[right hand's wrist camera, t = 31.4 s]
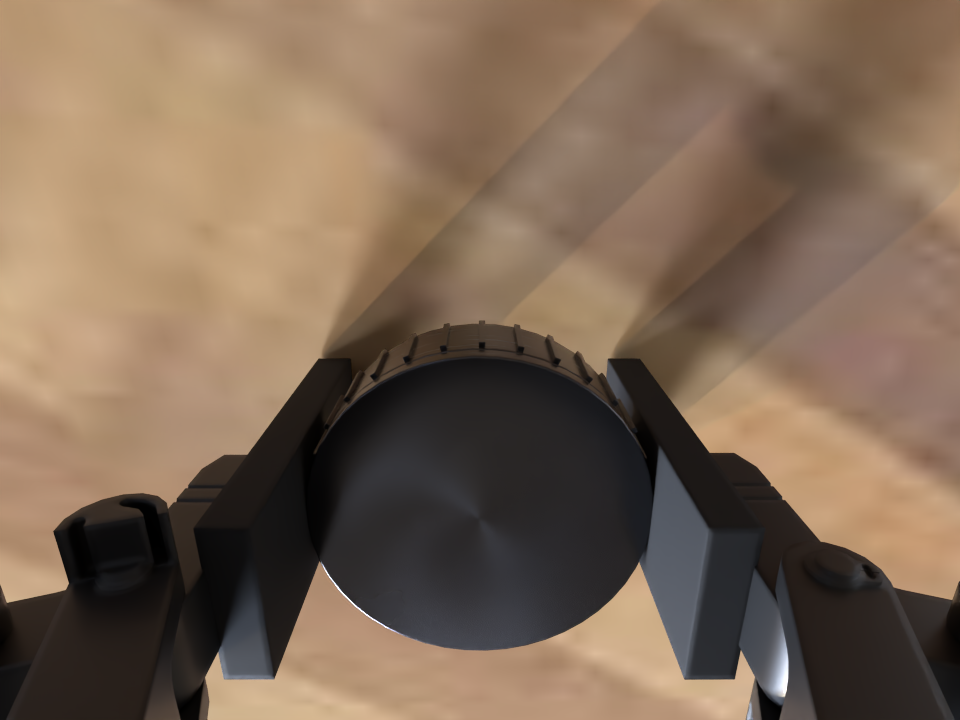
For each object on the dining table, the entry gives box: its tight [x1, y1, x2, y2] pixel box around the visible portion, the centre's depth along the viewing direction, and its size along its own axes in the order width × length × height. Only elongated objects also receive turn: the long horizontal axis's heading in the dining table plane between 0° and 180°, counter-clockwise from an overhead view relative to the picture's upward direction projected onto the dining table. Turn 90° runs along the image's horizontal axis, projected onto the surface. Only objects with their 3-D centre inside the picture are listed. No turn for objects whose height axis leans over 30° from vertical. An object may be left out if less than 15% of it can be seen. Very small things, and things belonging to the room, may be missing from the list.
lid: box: [306, 321, 653, 650], centre depth 11 cm, size 6×6×2 cm
